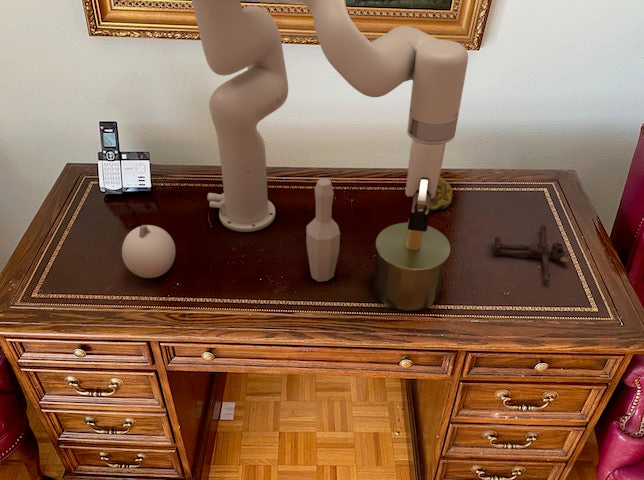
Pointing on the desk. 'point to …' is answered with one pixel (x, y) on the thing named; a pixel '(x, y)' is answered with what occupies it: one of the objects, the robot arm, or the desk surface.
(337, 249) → the low poly bottle
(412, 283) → the tin
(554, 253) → the brown thin branching figure
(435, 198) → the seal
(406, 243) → the lid
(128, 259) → the ornament
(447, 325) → the desk surface
